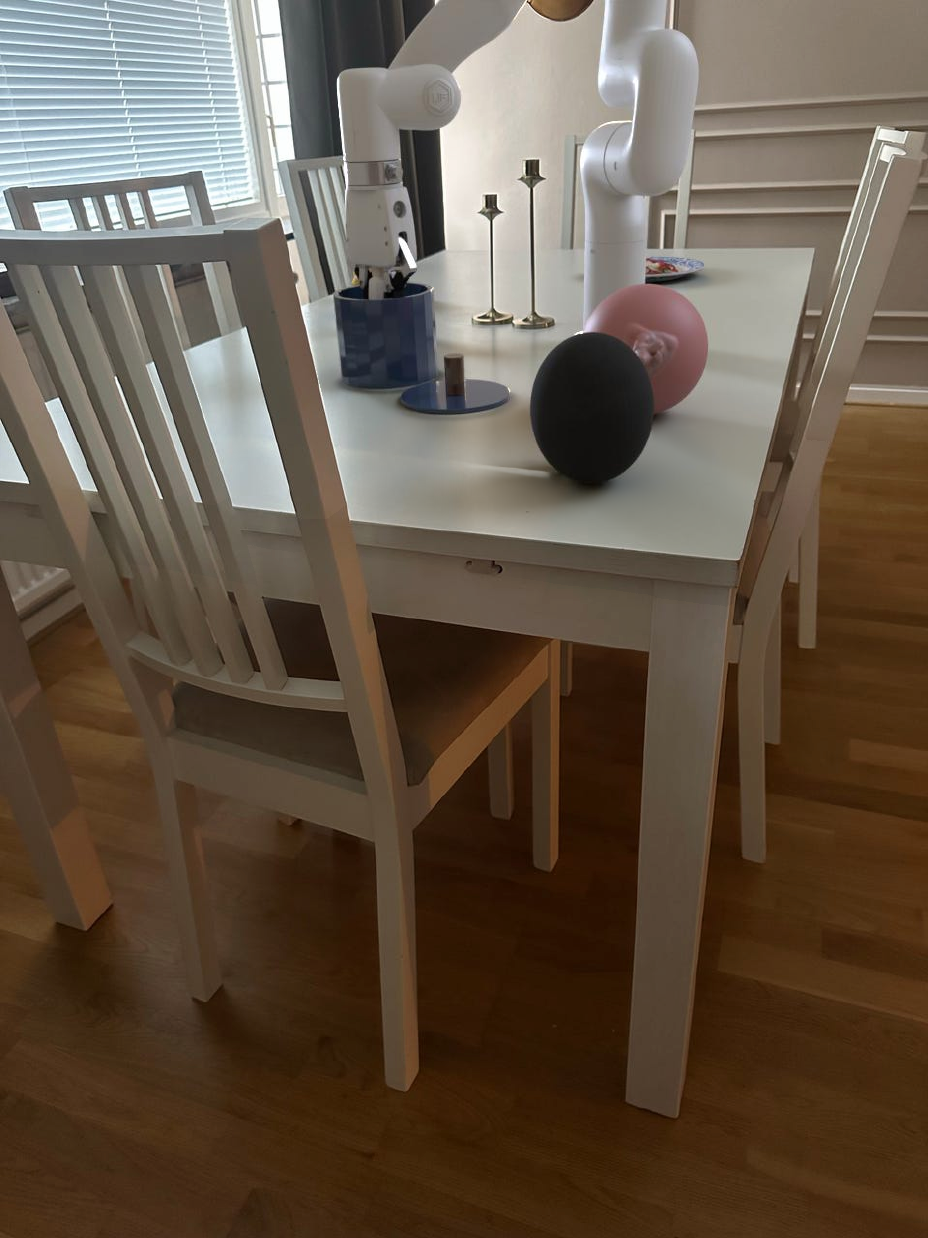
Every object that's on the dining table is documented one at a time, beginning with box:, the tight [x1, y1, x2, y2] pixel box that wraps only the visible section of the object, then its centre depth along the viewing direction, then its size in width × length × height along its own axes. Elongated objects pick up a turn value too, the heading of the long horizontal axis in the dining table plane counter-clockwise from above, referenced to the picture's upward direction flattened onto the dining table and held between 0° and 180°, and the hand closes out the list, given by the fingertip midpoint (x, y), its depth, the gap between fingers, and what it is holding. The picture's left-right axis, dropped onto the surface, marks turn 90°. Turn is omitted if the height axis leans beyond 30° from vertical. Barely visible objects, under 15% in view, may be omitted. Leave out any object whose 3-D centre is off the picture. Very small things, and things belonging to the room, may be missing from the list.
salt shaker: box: [369, 267, 393, 299], centre depth 130 cm, size 5×5×11 cm
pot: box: [332, 281, 439, 390], centre depth 133 cm, size 14×14×12 cm
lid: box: [400, 352, 511, 415], centre depth 123 cm, size 15×15×6 cm
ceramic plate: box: [645, 255, 706, 283], centre depth 203 cm, size 26×26×3 cm
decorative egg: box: [529, 332, 655, 484], centre depth 93 cm, size 12×12×15 cm
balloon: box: [582, 283, 709, 415], centre depth 111 cm, size 15×20×15 cm
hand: (385, 316), depth 132 cm, fingers closed on salt shaker, 3 cm apart
